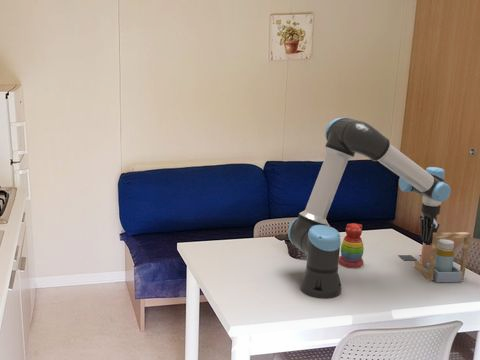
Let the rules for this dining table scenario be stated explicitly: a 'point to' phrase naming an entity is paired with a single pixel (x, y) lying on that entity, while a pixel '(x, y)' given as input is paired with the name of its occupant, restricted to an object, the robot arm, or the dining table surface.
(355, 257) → the stacking bear
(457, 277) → the tray
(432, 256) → the wooden frame rack
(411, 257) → the pit pads
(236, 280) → the dining table surface
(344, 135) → the robot arm
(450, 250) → the bottle
